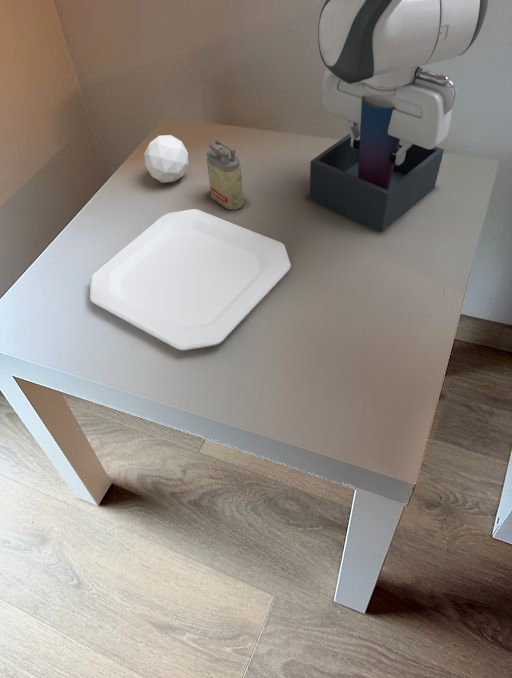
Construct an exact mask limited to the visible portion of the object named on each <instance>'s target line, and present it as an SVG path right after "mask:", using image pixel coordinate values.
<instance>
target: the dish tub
mask: <svg viewBox="0 0 512 678" xmlns="http://www.w3.org/2000/svg"><path fill="white" fill-rule="evenodd" d="M402 146H403V145H402ZM402 146H401V145H399V148H401V147H402ZM444 151H445V149H443V148H441V147H439V146H435V147H434V148H432V149H425V148H423V147H420V146H417V145H415V144H413V145H412V146H411V147H410V148H409V149H408V150H407V151H406V154H405V159H404V161H403V163H401V164H400V165H399V166H398V165H396V164H394V168H393V173H392V177H391V181H390V185H389V189H388V190H386V189H383V188H381V187H379V186H376V185H374V184H372V183H369V182H367V181H365V180H362V179H360V178H358V168H359V150H358V149H355V148H353V147H351V137H350V134H349V133H348V134H347V135H345V136H344V137H343V138H341V139H340V140H338V141H337V142H335V143H334V144H332V145H331V146H329V147H328V148H326V149H325V150H324V151H322V152H321V153H320V154H318V155H317V156H315V157H314V158H313V159H311V160H310V166H309V167H310V168H309V169H310V171H309V194H308V195H309V197H308V198H309V199H311V200H313V201H315V202H317V203H319V204H321V205H323V206H326V207H328V208H330V209H332V210H334V211H336V212H339V213H340V214H343V215H345V216H347V217H349V218H351V219H354V220H355V221H358V222H359V223H361V224H364V225H366V226H368V227H369V228H372V229H374V230H375V231H378V232H380V233H383V232H384V231H385V230H386V229H387V228H389V227H390V226H391V225H392V224H394V222H396V221H397V220H398V219H400V217H403V215H404V214H405V213H406V212H408V211H409V210H411V208H412V207H414V206H415V205H416V204H417V203H419V201H421V200H422V199H423V198H424V197H426V196H427V195H428V194H429V193H430V192H432V191H433V190H434V189H435V188H436V185H437V180H438V176H439V172H440V168H441V163H442V159H443V156H444Z"/></svg>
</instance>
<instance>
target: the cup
mask: <svg viewBox="0 0 512 678" xmlns="http://www.w3.org/2000/svg"><path fill="white" fill-rule="evenodd" d="M395 108H396V107H390V108H382V107H375V106H372V105H370V104H368V103H367V102H366V101H365V99H364V97H363V96H362V106H361V125H360V124H359V126H360V147H359V168H358V178H360V179H362V180H365V181H367V182H369V183H372V184H374V185H376V186H379V187H381V188H383V189H386V190H388V189H389V185H390V181H391V177H392V173H393V168H394V164H393V163H391V162H390V159H391V153H392V152H393V151H395V150H396V149H397V148H399V142H400V139H398V138H396V137H393V136H390V135H388V128H389V124H390V120H391V116H392V112H393V109H395Z"/></svg>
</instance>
